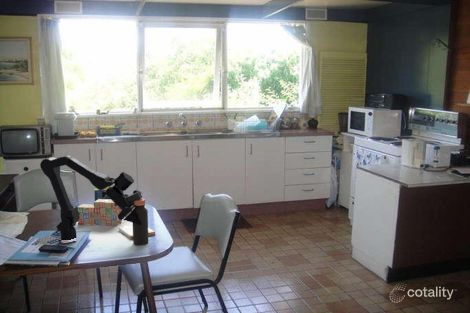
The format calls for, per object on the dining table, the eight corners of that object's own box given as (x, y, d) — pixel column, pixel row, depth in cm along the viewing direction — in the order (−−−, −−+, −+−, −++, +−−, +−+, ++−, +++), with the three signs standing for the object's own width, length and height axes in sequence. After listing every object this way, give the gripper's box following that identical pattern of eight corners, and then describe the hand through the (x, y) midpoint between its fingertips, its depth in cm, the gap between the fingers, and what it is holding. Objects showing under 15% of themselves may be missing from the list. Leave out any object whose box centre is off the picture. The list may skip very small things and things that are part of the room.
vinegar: (133, 245, 204) (132, 201, 201) (132, 241, 210) (131, 198, 207) (149, 244, 206) (148, 200, 203) (147, 239, 212) (146, 197, 209)
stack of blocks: (77, 224, 236) (76, 201, 234) (83, 221, 242) (81, 198, 241) (117, 226, 234) (116, 202, 232) (122, 222, 240) (121, 199, 238)
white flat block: (131, 239, 213) (131, 236, 212) (119, 230, 226) (119, 227, 226) (155, 234, 219) (155, 231, 219) (142, 226, 232) (142, 223, 232)
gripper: (124, 190, 195) (150, 216, 196) (136, 181, 214) (160, 205, 214) (106, 207, 197) (132, 233, 198) (120, 197, 215) (144, 220, 216)
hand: (143, 222), depth 206 cm, fingers closed on vinegar, 7 cm apart
